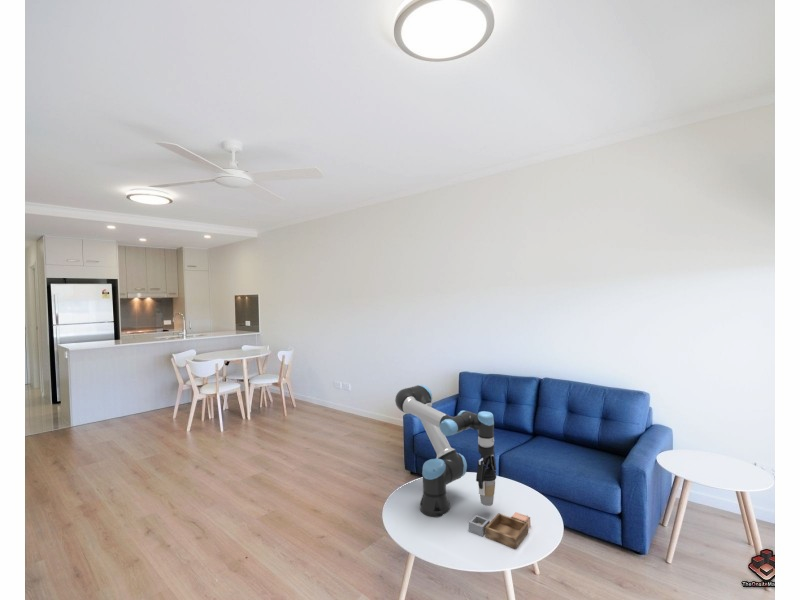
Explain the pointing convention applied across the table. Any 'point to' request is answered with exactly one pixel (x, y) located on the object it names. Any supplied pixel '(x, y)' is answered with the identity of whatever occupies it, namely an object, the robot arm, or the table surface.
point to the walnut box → (506, 530)
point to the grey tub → (476, 527)
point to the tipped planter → (522, 518)
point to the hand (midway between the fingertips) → (486, 490)
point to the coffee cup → (488, 488)
